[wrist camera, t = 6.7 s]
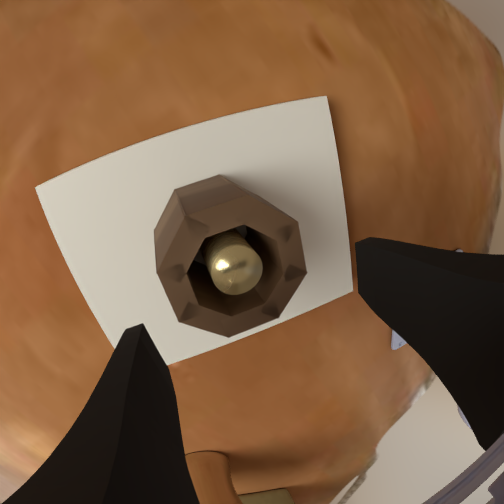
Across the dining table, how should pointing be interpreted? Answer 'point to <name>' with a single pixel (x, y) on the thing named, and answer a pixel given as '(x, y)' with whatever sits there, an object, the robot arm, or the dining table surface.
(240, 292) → the brass rod
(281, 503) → the cheese
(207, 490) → the beer glass
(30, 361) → the dining table surface
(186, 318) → the walnut bead
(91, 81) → the dining table surface
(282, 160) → the white rectangular board
